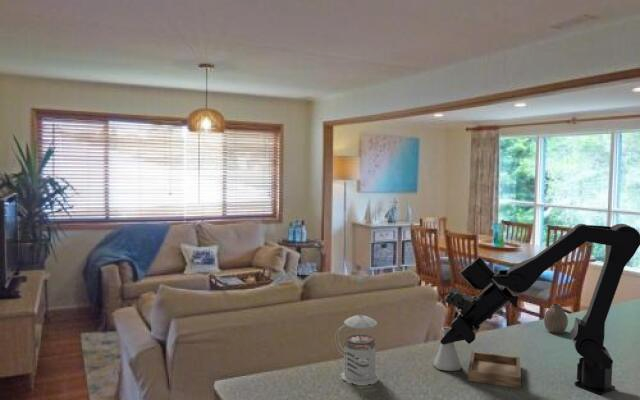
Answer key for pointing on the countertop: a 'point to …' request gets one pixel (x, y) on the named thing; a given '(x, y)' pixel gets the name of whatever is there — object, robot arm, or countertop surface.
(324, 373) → the countertop surface
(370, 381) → the french press
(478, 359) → the wooden tray
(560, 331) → the vase
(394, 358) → the countertop surface
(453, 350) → the flask
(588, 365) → the robot arm
